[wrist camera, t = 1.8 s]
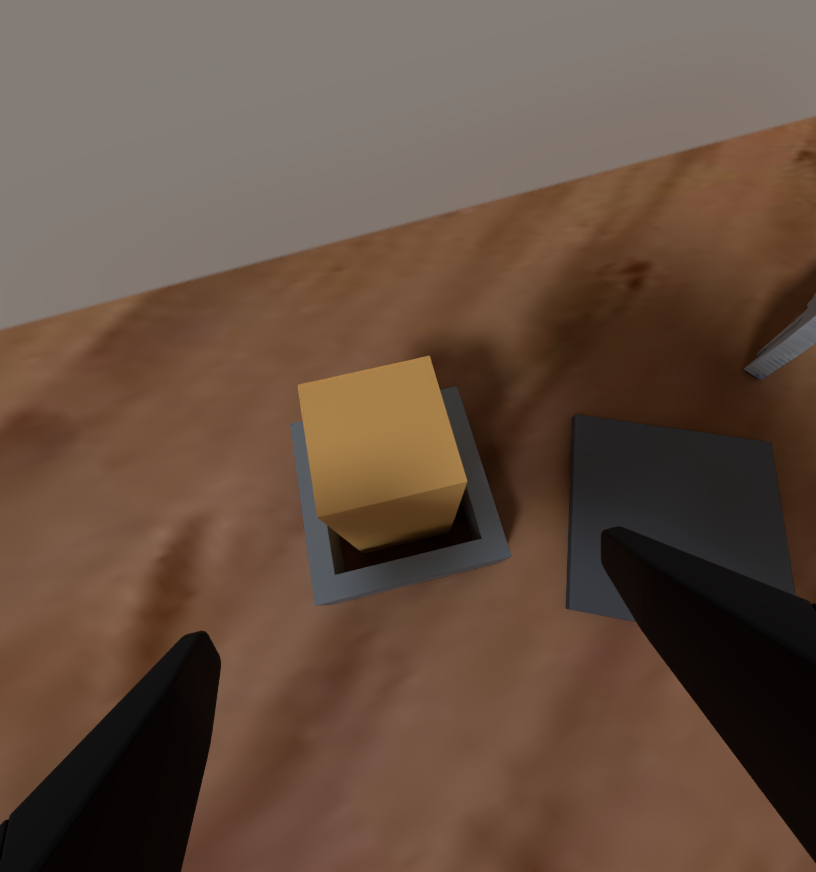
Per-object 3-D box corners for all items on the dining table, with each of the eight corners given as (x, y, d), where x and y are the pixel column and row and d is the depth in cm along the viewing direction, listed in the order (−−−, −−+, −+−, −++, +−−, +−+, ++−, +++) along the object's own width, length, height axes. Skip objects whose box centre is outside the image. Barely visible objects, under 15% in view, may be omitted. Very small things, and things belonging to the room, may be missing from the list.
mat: (795, 652, 18) (804, 653, 18) (565, 608, 19) (569, 608, 19) (763, 445, 22) (771, 442, 21) (572, 417, 23) (575, 414, 22)
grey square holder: (499, 562, 20) (511, 556, 17) (330, 605, 20) (314, 605, 17) (453, 411, 23) (457, 386, 21) (306, 445, 23) (290, 424, 20)
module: (449, 532, 21) (467, 481, 12) (363, 553, 21) (317, 517, 12) (427, 451, 22) (429, 355, 14) (347, 470, 22) (297, 385, 13)
